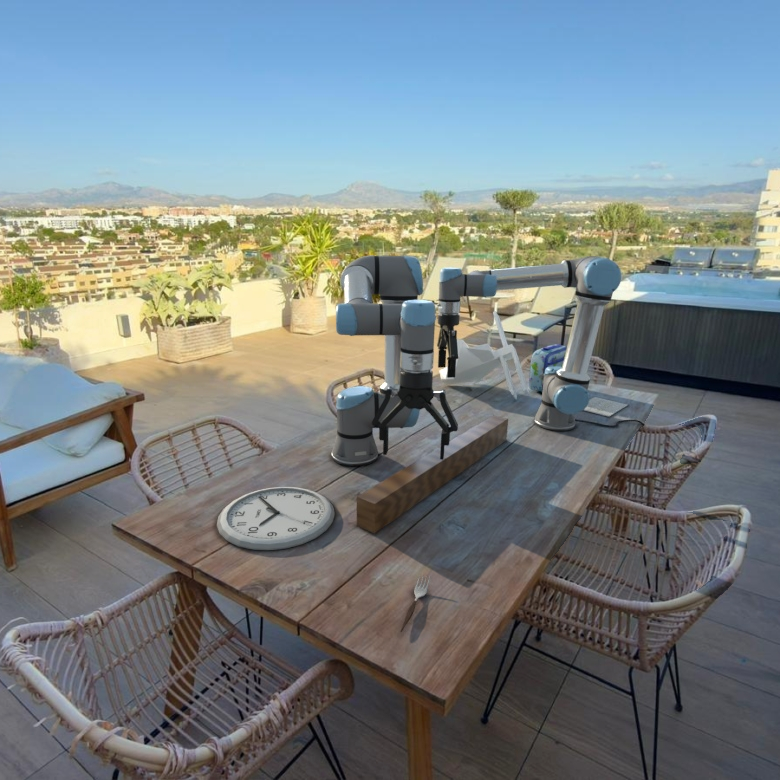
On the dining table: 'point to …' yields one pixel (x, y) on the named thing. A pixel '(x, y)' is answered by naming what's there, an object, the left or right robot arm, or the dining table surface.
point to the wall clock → (275, 518)
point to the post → (427, 474)
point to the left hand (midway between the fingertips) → (413, 454)
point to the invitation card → (604, 406)
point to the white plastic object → (485, 362)
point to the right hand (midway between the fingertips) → (446, 372)
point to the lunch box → (545, 364)
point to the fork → (418, 593)
